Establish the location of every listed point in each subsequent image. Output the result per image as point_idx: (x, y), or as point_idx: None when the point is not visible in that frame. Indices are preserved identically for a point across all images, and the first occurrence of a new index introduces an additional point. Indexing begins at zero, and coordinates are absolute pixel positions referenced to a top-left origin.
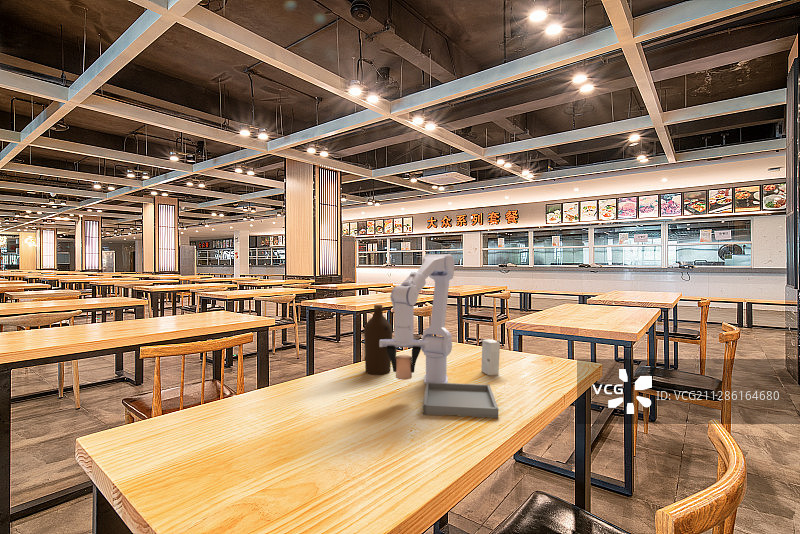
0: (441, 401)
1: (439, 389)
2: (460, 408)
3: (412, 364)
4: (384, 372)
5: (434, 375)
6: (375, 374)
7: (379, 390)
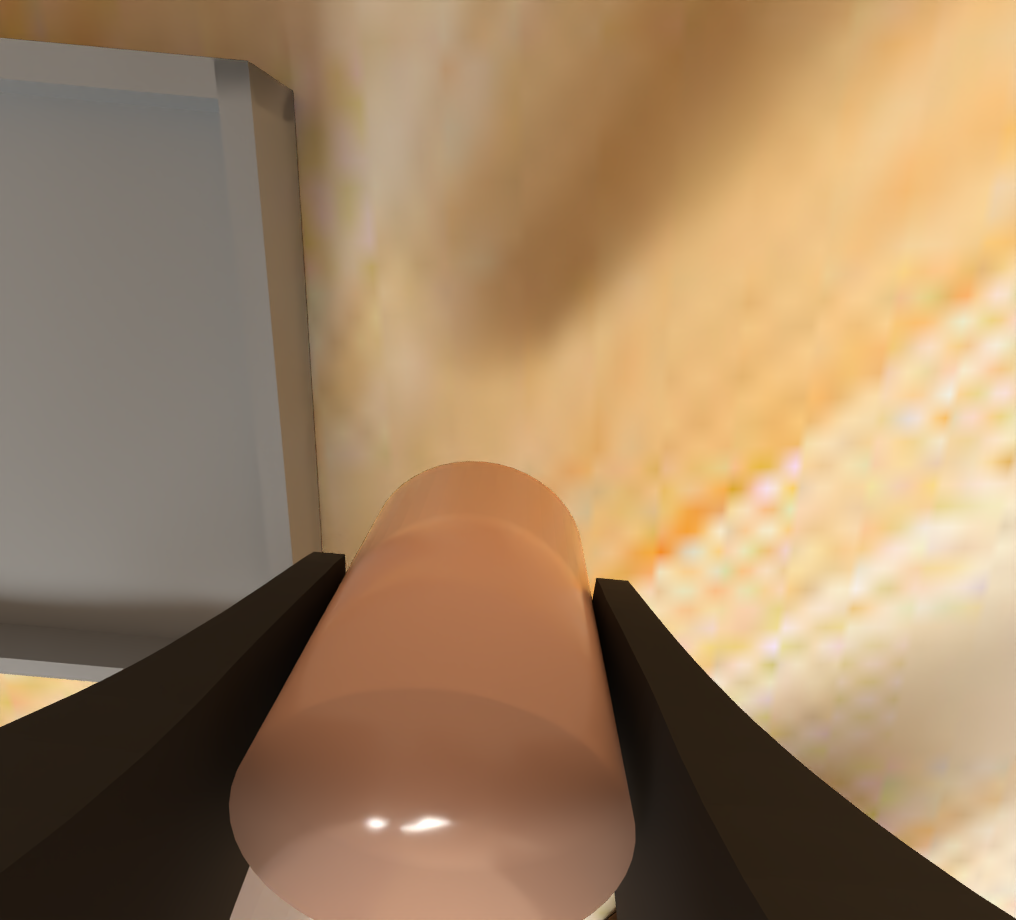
0: (149, 372)
1: None
2: None
3: (260, 623)
4: None
5: None
6: None
7: (687, 643)
